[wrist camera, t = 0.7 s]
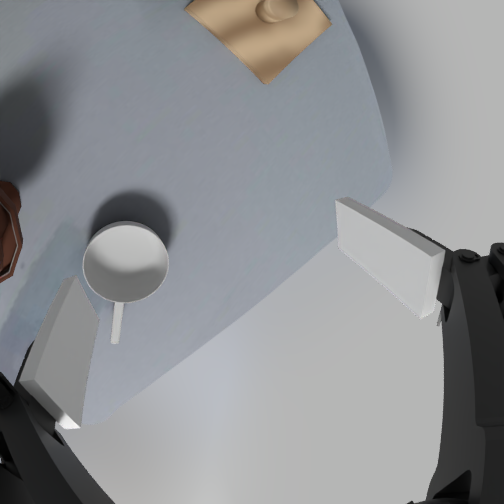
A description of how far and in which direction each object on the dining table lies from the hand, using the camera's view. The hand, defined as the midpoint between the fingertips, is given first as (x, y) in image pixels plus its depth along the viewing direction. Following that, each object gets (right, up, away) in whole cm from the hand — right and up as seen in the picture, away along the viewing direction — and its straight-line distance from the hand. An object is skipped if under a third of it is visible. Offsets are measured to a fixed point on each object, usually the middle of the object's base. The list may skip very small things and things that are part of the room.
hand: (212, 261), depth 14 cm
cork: (+4, +29, +13) cm, 32 cm away
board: (+3, +30, +13) cm, 33 cm away
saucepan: (-16, -3, +23) cm, 28 cm away
